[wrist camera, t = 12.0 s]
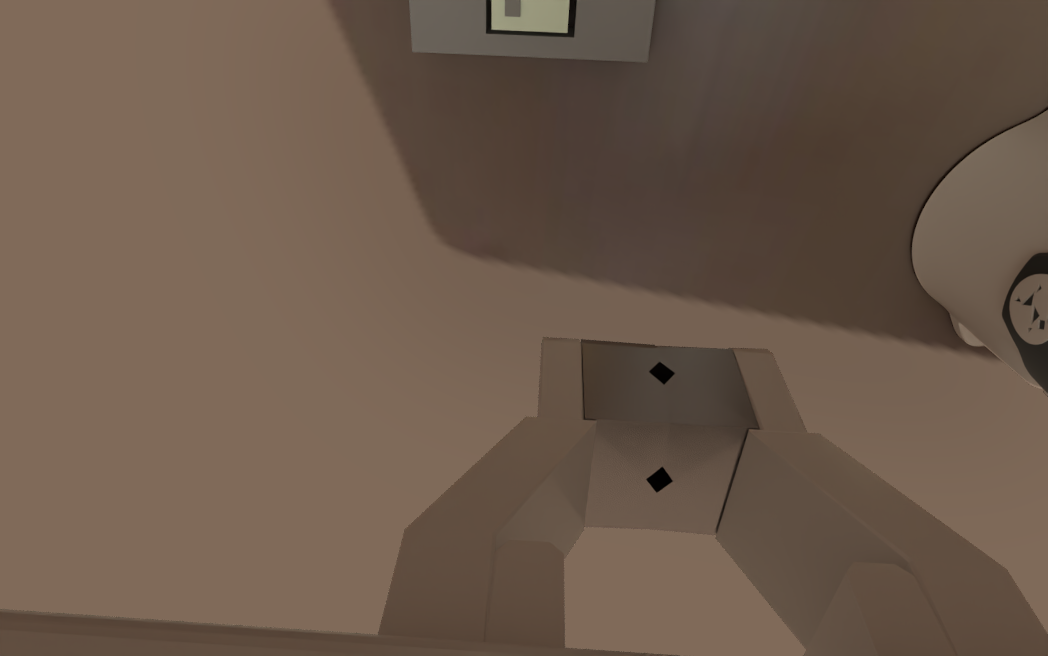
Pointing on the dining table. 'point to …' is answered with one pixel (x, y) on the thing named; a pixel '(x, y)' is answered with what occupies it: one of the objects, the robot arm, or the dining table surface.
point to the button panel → (598, 34)
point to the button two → (530, 15)
